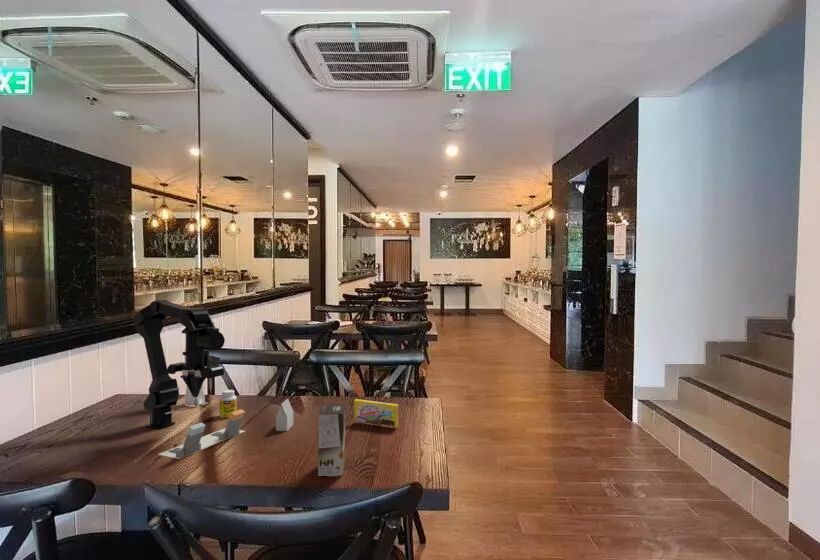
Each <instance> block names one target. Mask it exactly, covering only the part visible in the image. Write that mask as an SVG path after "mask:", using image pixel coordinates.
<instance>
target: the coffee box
mask: <svg viewBox="0 0 820 560" xmlns="http://www.w3.org/2000/svg"><path fill="white" fill-rule="evenodd" d="M345 441H346V404H344V403H343V404H342V403H341V404H338V403H337V404H332V403H331V404H322V406H321V408H320V409H319V411H318V450H317V452H318V454H317V455H318V456H317V458H318V459H317V460H318V462H317V466H318V467H317V477H318V476H327V477H342V476H343V475H344V474H343V473H344V468H345V463H344V462H345V461H346V460H345V456H346V455H345V453H346V452H345V451H346V449H345V448H346V442H345ZM338 475H340V476H338ZM341 475H342V476H341Z"/></svg>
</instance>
